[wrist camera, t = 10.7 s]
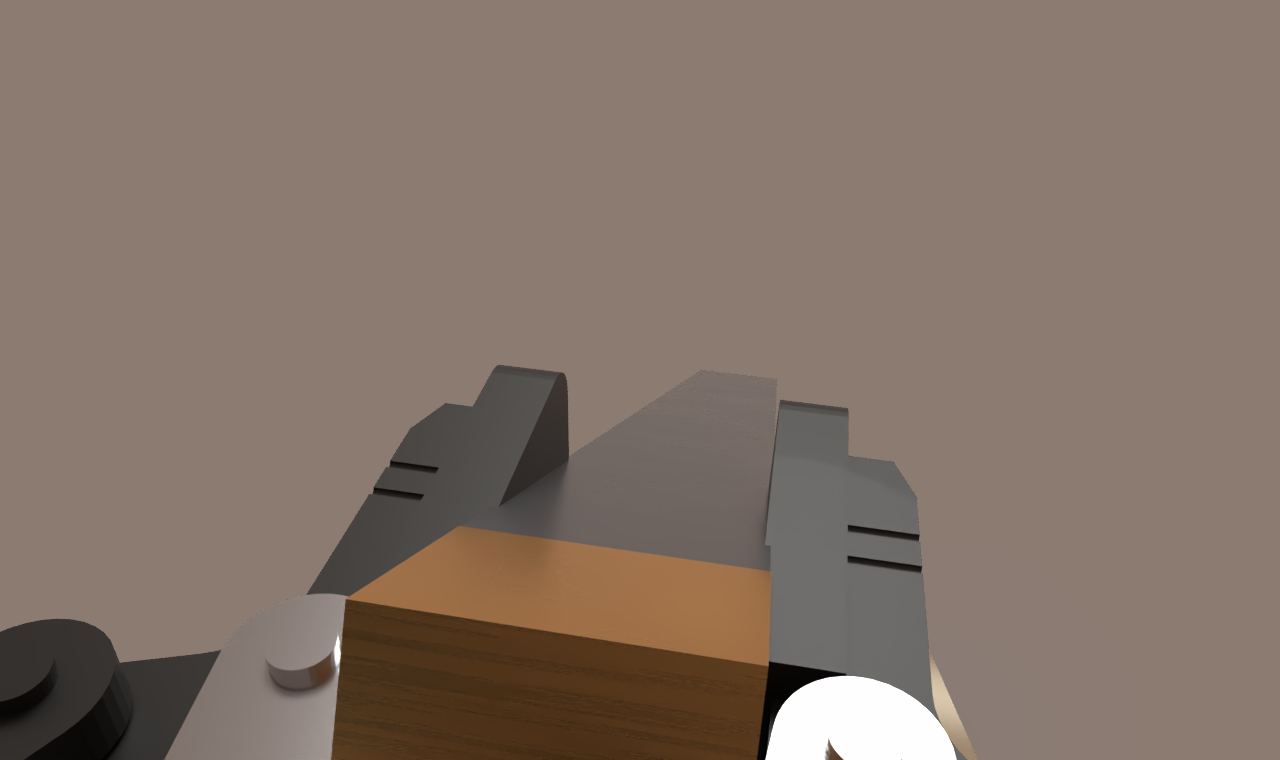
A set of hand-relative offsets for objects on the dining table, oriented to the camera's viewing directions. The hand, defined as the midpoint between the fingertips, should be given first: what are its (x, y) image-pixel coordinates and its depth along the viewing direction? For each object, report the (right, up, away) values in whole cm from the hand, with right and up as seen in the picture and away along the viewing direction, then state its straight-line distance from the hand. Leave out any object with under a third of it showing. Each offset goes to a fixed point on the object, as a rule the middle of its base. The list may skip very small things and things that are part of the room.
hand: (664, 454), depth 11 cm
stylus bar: (+1, -2, +8) cm, 8 cm away
